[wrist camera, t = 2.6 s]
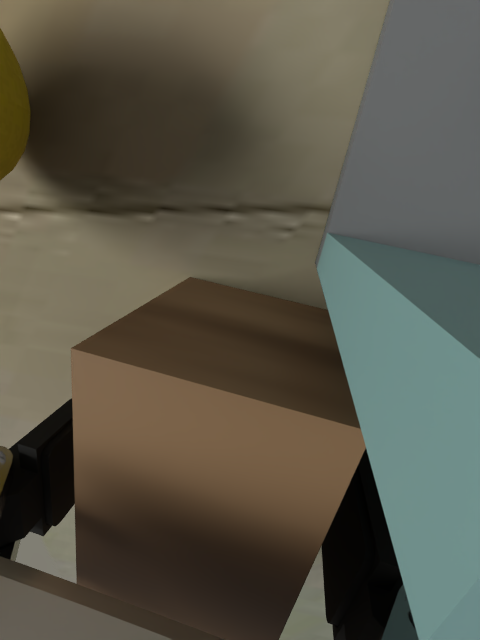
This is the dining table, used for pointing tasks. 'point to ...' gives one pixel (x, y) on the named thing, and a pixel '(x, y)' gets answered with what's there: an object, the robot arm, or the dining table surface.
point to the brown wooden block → (210, 455)
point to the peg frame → (417, 300)
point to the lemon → (12, 109)
